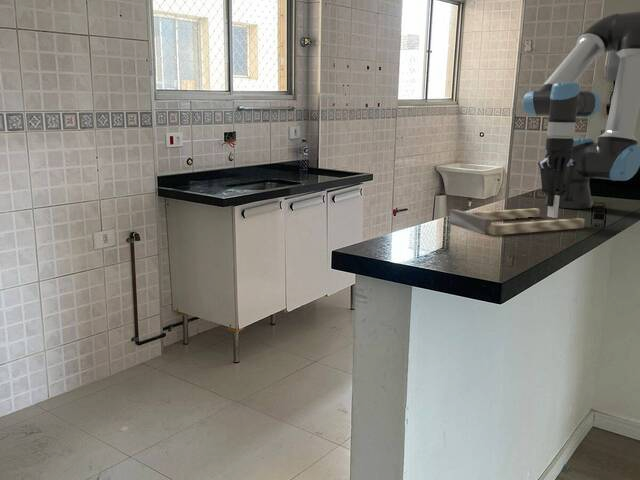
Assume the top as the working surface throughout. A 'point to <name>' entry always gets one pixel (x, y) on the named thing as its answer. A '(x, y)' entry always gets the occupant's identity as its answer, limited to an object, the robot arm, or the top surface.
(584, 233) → the top surface
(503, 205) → the top surface
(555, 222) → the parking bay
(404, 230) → the top surface
